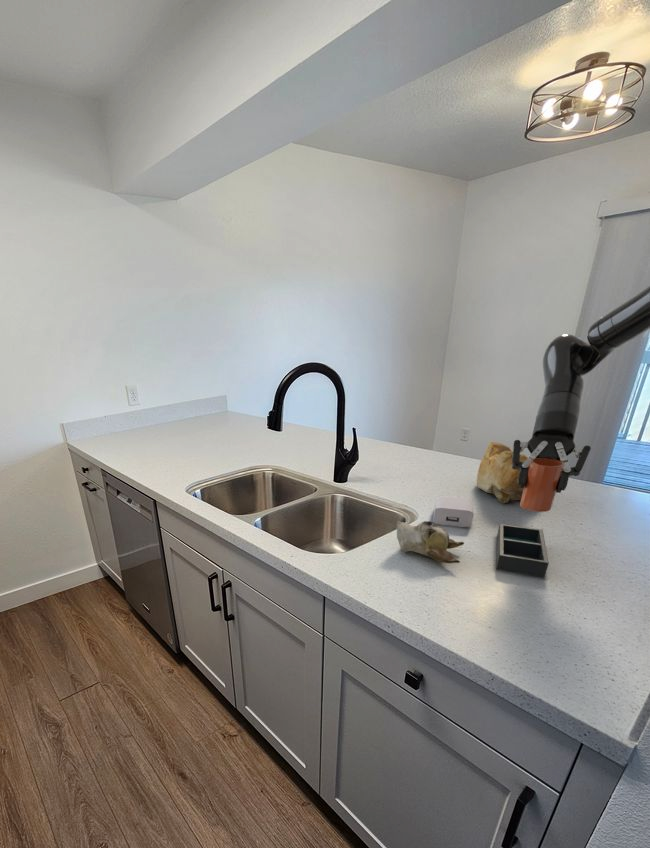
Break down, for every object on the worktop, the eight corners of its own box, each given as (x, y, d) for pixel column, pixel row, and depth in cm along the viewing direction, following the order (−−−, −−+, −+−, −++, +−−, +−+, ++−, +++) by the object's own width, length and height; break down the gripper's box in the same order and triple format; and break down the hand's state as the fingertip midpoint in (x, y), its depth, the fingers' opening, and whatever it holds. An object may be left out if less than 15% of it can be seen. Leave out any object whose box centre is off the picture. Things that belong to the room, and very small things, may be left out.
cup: (549, 503, 95) (562, 459, 91) (552, 513, 91) (565, 467, 86) (519, 499, 98) (530, 456, 93) (520, 509, 93) (531, 464, 89)
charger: (469, 506, 125) (470, 527, 113) (434, 503, 129) (432, 523, 116) (472, 490, 123) (474, 511, 111) (437, 488, 126) (435, 507, 114)
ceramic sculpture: (403, 506, 105) (470, 520, 99) (397, 537, 110) (461, 552, 103) (393, 524, 97) (465, 540, 91) (387, 557, 102) (456, 574, 95)
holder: (538, 542, 104) (542, 529, 103) (544, 577, 91) (548, 563, 89) (496, 536, 108) (499, 523, 106) (496, 569, 95) (499, 555, 93)
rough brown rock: (556, 515, 119) (576, 462, 112) (490, 508, 121) (507, 456, 115) (525, 488, 139) (540, 441, 133) (470, 482, 142) (482, 437, 135)
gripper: (520, 407, 94) (503, 476, 91) (602, 411, 87) (587, 485, 84) (516, 426, 101) (500, 491, 98) (593, 431, 94) (578, 501, 90)
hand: (540, 488), depth 91 cm, fingers closed on cup, 6 cm apart
